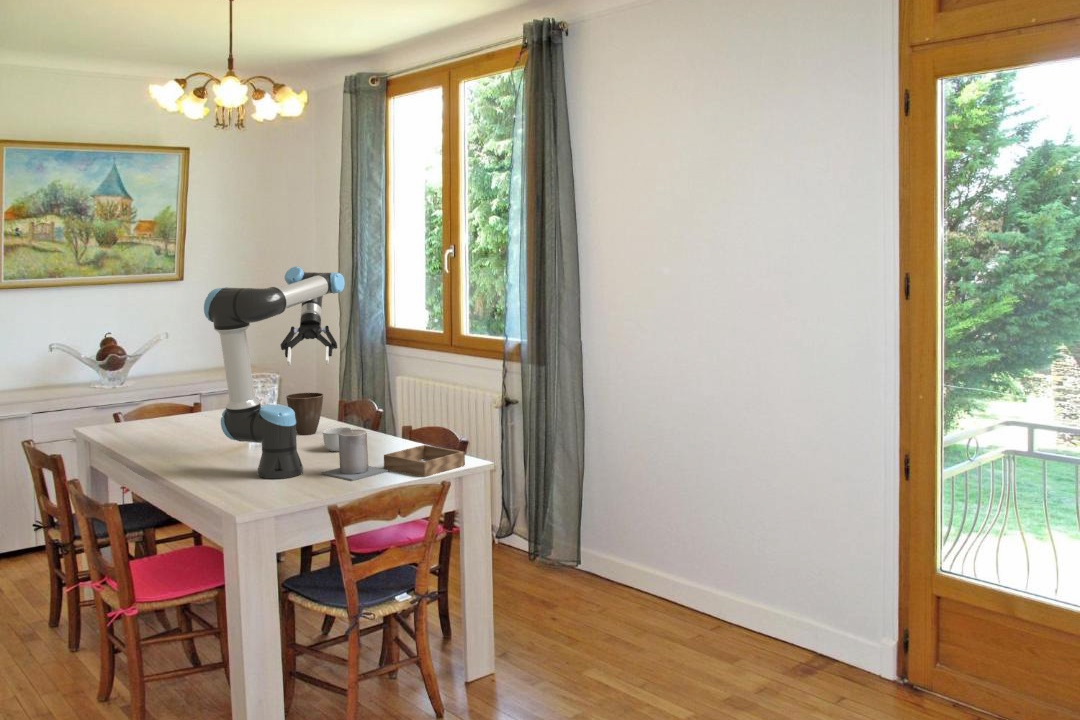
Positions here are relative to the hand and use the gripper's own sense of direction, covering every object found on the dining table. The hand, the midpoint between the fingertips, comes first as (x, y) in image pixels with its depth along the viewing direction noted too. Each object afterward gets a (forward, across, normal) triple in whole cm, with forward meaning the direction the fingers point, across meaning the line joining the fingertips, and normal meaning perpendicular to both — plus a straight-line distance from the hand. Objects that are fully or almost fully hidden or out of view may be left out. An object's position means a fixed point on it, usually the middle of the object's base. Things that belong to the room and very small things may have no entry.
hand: (307, 363), depth 360 cm
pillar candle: (+41, -17, -9) cm, 45 cm away
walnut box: (+39, -41, -12) cm, 58 cm away
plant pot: (-10, +8, -60) cm, 62 cm away
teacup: (+14, -8, -37) cm, 40 cm away
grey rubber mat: (+42, -17, -9) cm, 46 cm away
